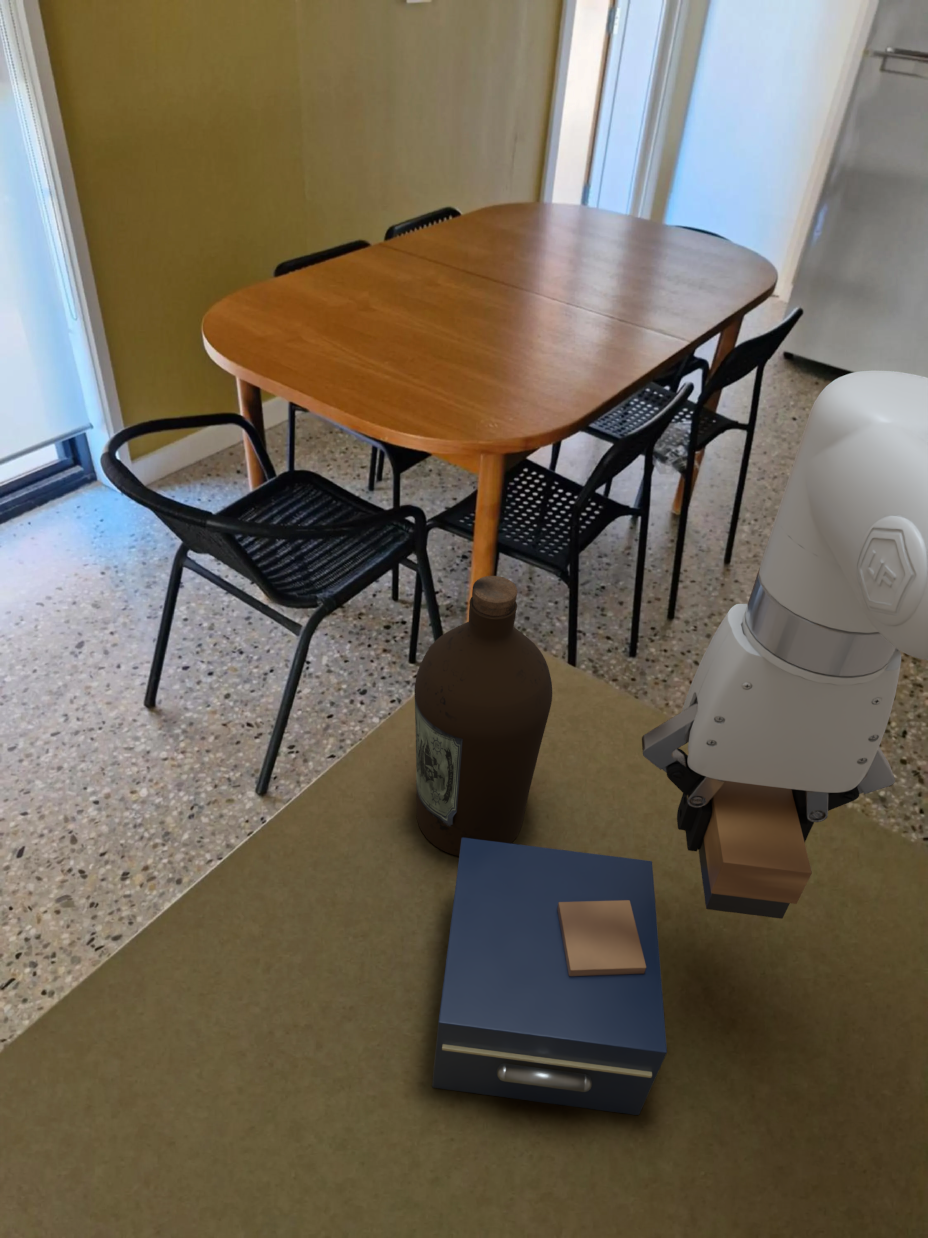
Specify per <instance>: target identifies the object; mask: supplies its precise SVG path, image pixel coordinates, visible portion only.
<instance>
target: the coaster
mask: <svg viewBox="0 0 928 1238" xmlns="http://www.w3.org/2000/svg"><path fill="white" fill-rule="evenodd" d="M557 911H558V917H559V922H560V928H561V934H562V939H563V945H564V951H565V956H566V962H567V968H568V974H569V976H592V975H620V974H644V972H645V970H646V964H645V960H644V956H643V952H642V948H641V944H640V940H639V936H638V932H637V928H636V924H635V920H634V916H633V912H632V908H631V904H630V901H629V900H619V901H581V902H559V903H558V907H557Z"/></svg>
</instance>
